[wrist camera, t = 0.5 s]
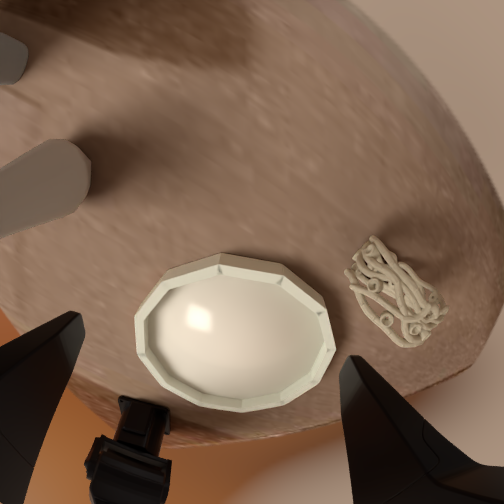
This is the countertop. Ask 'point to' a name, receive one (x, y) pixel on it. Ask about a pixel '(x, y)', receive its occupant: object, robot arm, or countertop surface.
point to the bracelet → (395, 294)
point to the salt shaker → (42, 185)
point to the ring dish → (234, 333)
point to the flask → (11, 59)
